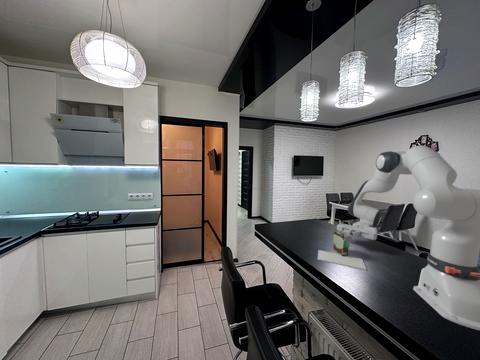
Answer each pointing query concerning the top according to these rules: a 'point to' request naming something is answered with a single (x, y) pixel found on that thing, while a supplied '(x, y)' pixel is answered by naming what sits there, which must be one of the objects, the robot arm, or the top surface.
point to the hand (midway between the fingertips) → (351, 233)
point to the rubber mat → (341, 260)
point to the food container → (341, 242)
